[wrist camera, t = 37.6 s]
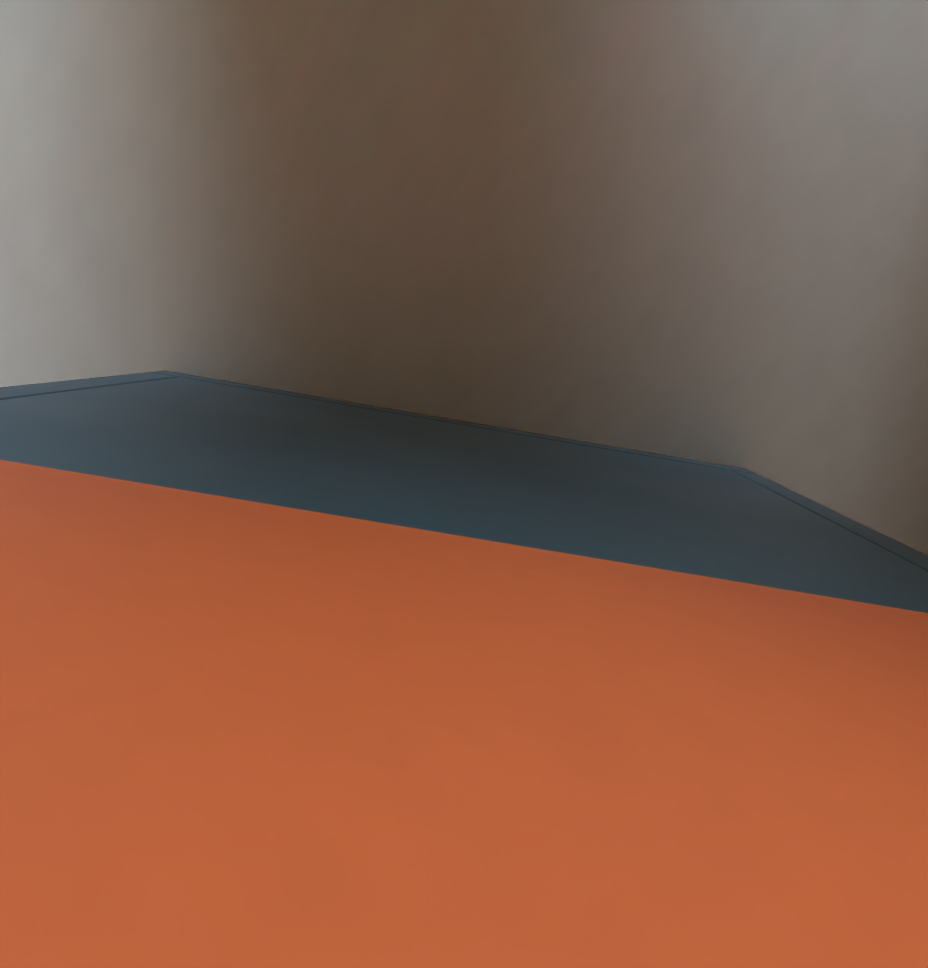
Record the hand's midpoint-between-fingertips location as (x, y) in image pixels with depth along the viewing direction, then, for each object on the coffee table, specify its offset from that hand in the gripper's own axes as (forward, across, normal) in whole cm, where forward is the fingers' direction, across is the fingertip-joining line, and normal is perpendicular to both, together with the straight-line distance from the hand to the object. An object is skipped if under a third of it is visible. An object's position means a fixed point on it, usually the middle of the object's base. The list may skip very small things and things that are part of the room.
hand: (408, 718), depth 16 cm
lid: (-15, 0, +7) cm, 17 cm away
